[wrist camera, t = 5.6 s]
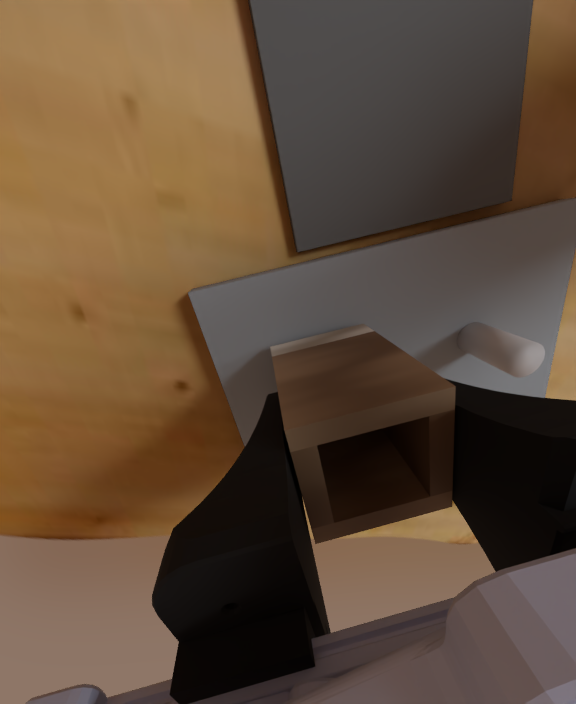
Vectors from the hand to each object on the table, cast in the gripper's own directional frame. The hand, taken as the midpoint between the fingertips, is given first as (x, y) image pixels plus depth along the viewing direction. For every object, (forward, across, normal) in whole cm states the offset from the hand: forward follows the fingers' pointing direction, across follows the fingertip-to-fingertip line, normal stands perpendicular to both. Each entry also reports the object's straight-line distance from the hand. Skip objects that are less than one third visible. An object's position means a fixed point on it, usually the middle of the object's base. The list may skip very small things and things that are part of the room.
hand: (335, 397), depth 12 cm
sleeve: (+2, 0, 0) cm, 2 cm away
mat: (+3, -5, -11) cm, 12 cm away
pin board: (+3, -4, 0) cm, 5 cm away
